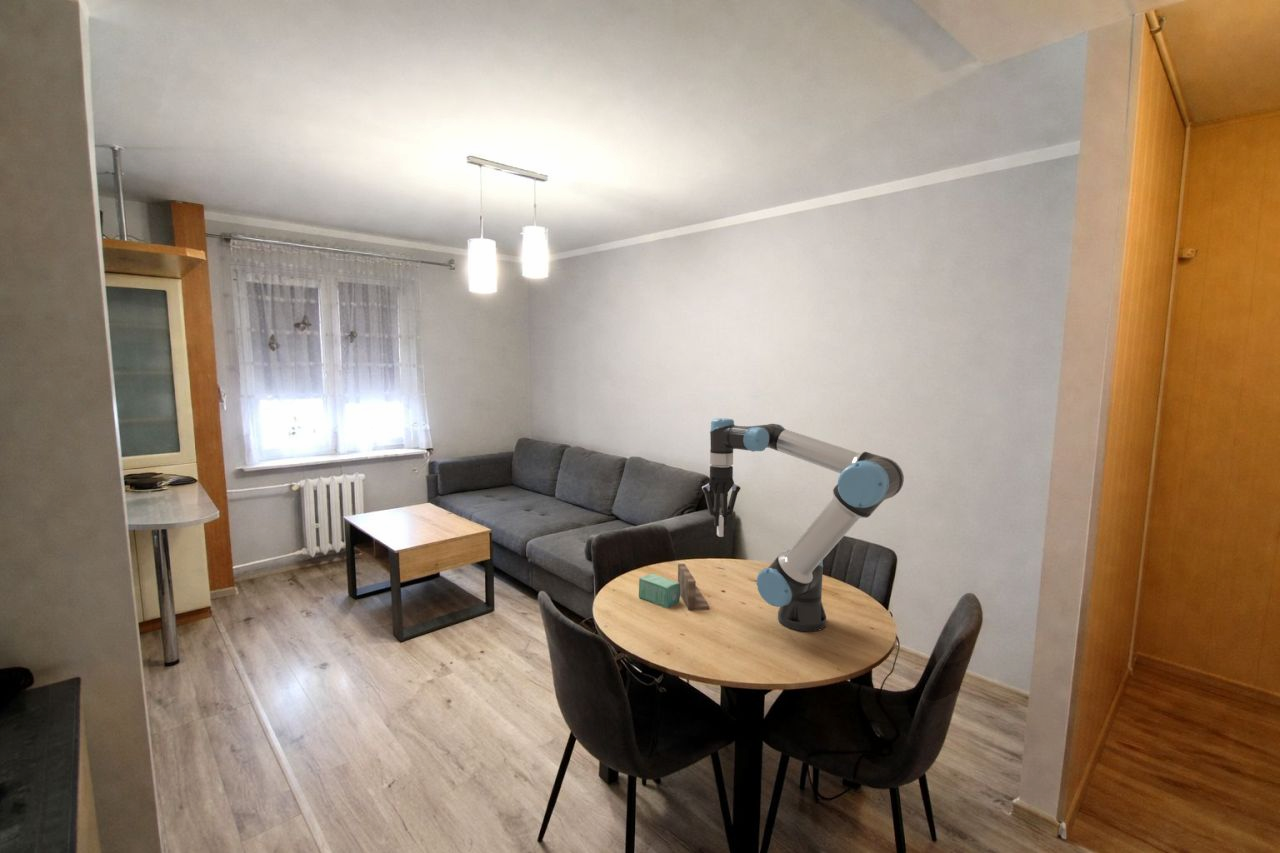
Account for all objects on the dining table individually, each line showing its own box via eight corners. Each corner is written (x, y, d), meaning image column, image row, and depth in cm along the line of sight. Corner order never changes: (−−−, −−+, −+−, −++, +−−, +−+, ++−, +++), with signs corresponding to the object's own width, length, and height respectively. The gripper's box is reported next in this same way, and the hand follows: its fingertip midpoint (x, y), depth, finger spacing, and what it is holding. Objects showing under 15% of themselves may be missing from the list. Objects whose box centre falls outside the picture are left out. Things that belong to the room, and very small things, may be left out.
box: (667, 608, 189) (667, 587, 188) (638, 598, 198) (638, 577, 197) (680, 602, 194) (681, 581, 194) (651, 592, 203) (652, 572, 203)
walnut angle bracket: (708, 609, 188) (709, 580, 188) (688, 610, 188) (688, 581, 187) (696, 589, 206) (697, 563, 205) (677, 590, 205) (678, 563, 204)
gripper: (737, 463, 186) (735, 532, 188) (699, 463, 184) (698, 533, 186) (744, 466, 179) (742, 538, 181) (704, 467, 177) (703, 539, 179)
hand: (720, 535), depth 184 cm, fingers closed
